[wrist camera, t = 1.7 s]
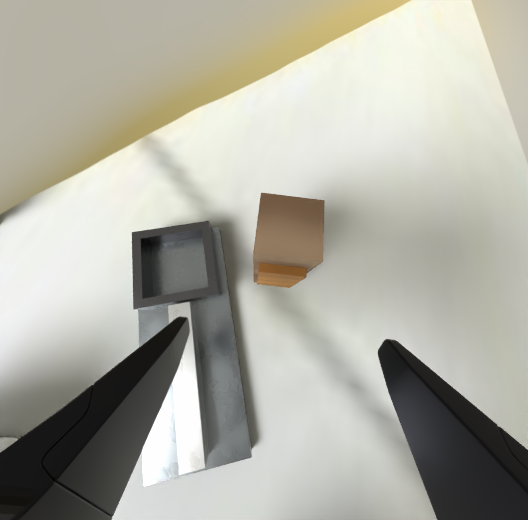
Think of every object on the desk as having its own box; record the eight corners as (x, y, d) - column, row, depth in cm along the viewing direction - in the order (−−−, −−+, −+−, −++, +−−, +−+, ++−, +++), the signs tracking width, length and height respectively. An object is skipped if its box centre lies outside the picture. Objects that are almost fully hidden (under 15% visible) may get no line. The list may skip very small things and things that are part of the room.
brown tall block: (288, 291, 21) (322, 271, 11) (253, 287, 21) (252, 263, 11) (291, 252, 23) (324, 200, 12) (257, 248, 23) (261, 192, 12)
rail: (251, 449, 18) (251, 476, 15) (149, 476, 17) (127, 511, 14) (219, 229, 23) (215, 218, 20) (141, 242, 22) (124, 231, 19)
